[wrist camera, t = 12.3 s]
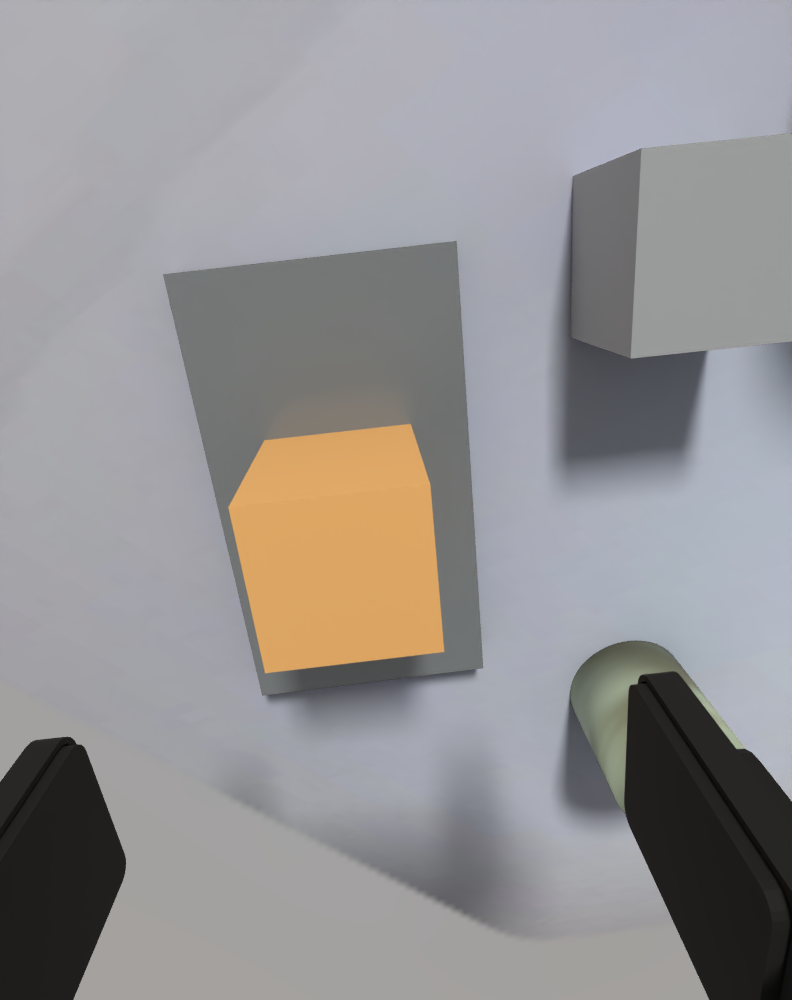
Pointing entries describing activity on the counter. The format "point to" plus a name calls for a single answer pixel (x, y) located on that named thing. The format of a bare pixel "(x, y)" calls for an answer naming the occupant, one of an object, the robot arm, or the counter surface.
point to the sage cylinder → (622, 702)
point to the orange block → (339, 549)
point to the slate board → (339, 402)
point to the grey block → (684, 248)
